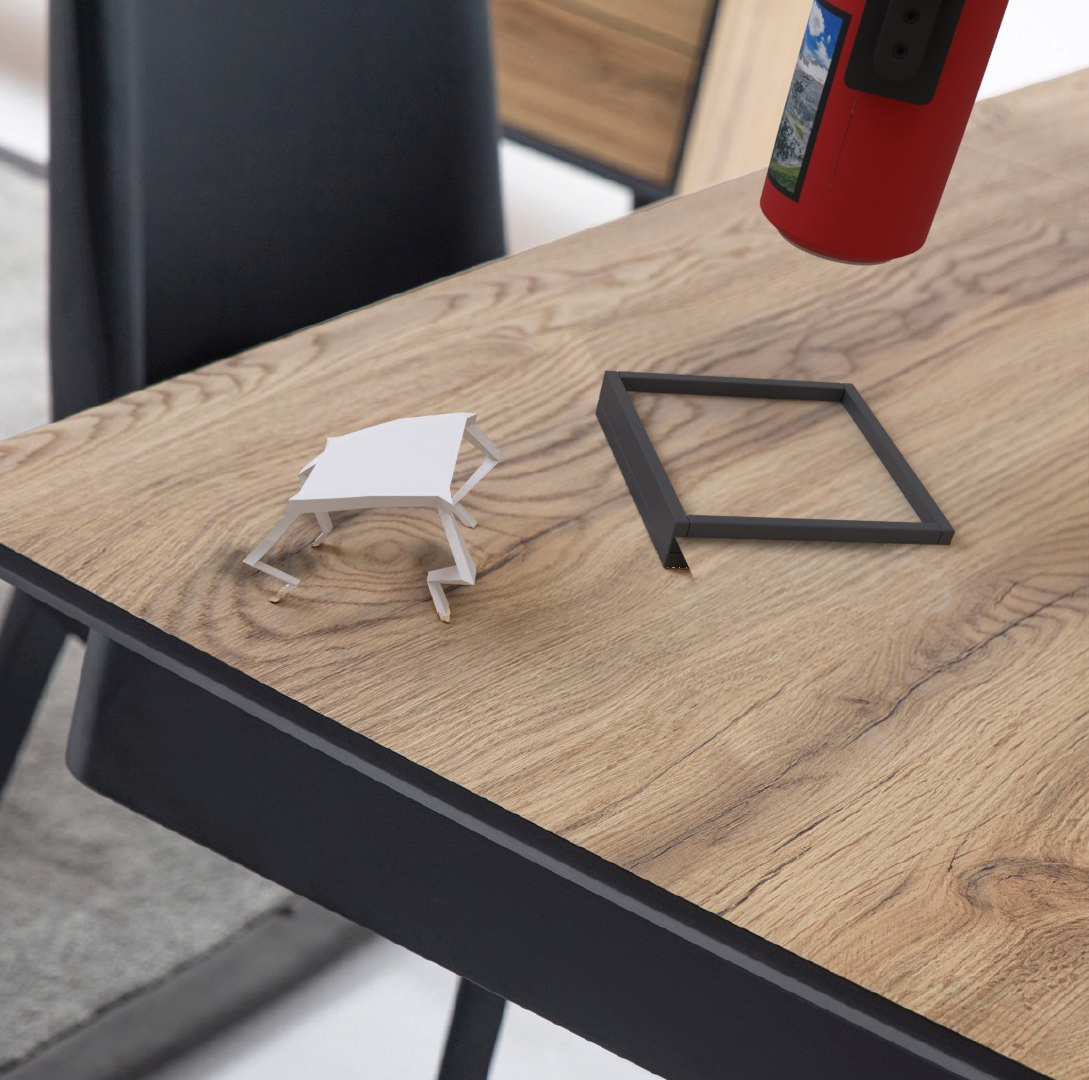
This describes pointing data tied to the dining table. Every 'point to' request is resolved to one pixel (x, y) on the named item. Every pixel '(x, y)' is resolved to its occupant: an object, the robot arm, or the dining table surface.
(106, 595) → the dining table surface
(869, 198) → the beverage can
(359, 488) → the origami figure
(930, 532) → the open square outline
